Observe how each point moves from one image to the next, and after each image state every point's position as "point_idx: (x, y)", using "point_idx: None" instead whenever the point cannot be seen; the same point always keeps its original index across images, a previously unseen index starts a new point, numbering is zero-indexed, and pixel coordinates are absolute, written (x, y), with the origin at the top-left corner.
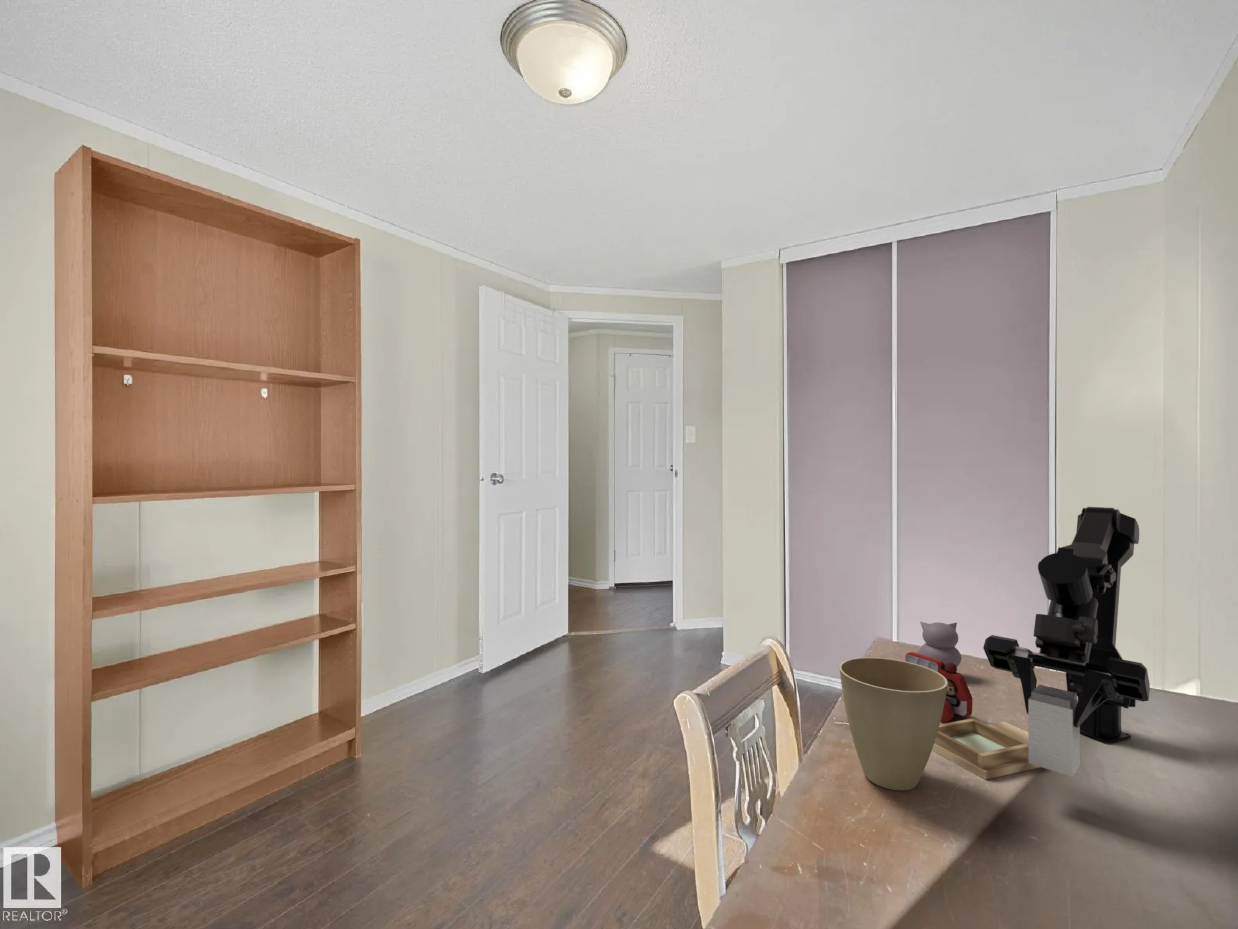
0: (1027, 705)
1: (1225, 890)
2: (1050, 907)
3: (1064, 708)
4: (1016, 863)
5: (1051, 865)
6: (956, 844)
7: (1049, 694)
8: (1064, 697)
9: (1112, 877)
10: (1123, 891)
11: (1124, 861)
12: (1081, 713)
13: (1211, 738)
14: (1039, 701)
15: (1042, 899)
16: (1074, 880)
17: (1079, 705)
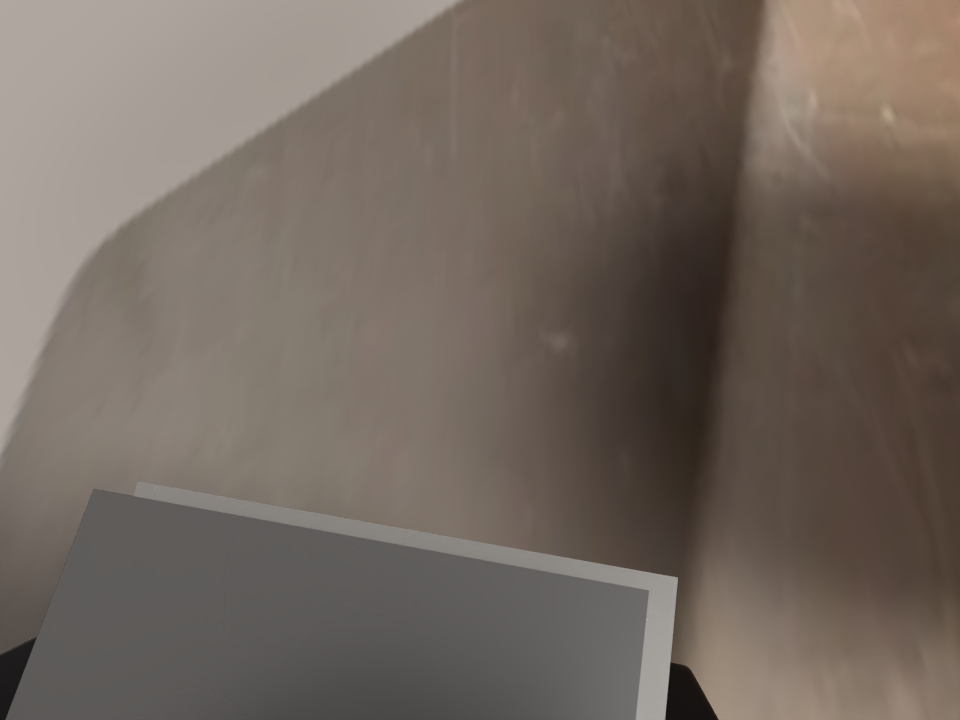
0: (687, 705)
1: (26, 405)
2: (494, 18)
3: (227, 504)
4: (593, 146)
5: (497, 204)
6: (780, 126)
7: (361, 646)
8: (142, 627)
9: (331, 257)
10: (312, 204)
11: (280, 382)
12: None
13: None
14: (524, 560)
15: (514, 35)
16: (435, 170)
17: (5, 706)
